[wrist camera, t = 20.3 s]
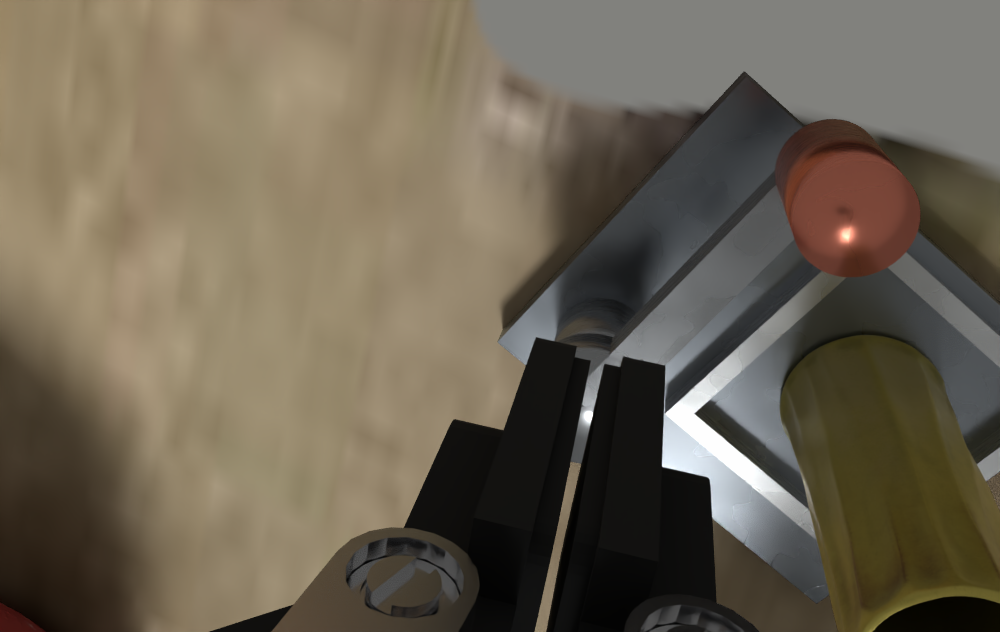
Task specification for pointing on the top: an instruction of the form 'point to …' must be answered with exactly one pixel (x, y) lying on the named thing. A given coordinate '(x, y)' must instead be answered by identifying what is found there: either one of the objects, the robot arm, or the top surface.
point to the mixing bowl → (16, 621)
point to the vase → (892, 491)
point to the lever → (771, 244)
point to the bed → (762, 327)
